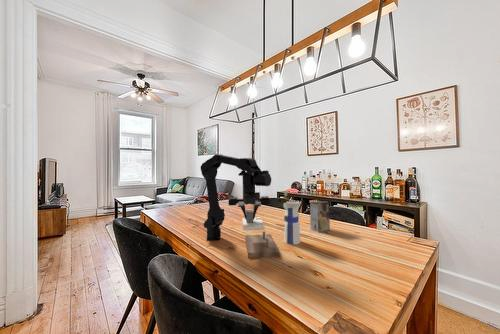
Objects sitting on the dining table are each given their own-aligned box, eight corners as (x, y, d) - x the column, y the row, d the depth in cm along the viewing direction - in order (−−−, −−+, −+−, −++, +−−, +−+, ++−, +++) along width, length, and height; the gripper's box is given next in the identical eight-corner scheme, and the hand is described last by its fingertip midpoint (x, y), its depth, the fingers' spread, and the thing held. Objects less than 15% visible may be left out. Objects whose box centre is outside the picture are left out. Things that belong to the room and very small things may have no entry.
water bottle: (280, 243, 103) (280, 191, 103) (286, 237, 111) (286, 189, 110) (297, 246, 99) (297, 192, 99) (302, 240, 107) (302, 190, 107)
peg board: (248, 257, 88) (247, 244, 87) (245, 239, 109) (245, 228, 109) (279, 256, 88) (279, 243, 88) (270, 238, 110) (270, 227, 110)
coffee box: (321, 227, 128) (321, 200, 128) (330, 230, 123) (329, 202, 122) (310, 229, 124) (309, 201, 124) (318, 232, 118) (318, 203, 118)
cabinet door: (243, 230, 90) (242, 215, 90) (242, 220, 106) (242, 207, 106) (264, 229, 90) (264, 214, 90) (260, 220, 106) (260, 207, 106)
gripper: (227, 187, 90) (228, 225, 90) (271, 186, 90) (272, 223, 90) (228, 185, 101) (229, 218, 101) (268, 184, 102) (269, 217, 102)
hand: (249, 219), depth 98 cm, fingers closed on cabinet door, 3 cm apart
